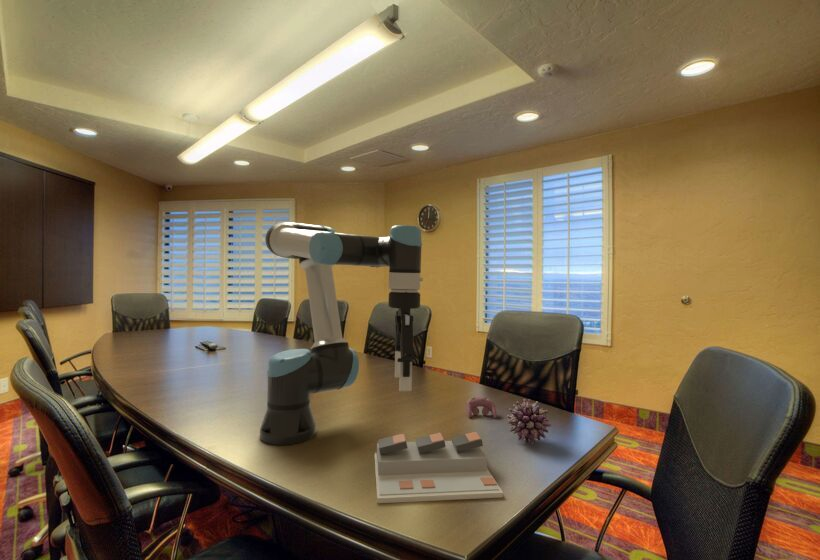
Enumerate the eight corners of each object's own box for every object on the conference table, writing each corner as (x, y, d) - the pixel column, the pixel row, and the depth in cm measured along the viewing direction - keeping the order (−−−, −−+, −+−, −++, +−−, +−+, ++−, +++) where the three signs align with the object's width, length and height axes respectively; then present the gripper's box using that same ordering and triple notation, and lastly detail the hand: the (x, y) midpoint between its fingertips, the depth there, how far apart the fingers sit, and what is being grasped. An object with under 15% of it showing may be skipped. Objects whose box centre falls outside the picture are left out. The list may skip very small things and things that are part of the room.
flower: (546, 455, 100) (547, 409, 100) (501, 444, 106) (502, 401, 106) (554, 439, 110) (554, 397, 110) (511, 430, 116) (512, 391, 116)
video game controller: (494, 419, 129) (492, 398, 132) (498, 418, 125) (496, 395, 128) (465, 419, 129) (464, 397, 132) (468, 417, 125) (466, 395, 128)
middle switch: (419, 453, 90) (417, 446, 90) (416, 444, 94) (415, 438, 94) (445, 447, 90) (444, 440, 90) (441, 438, 95) (440, 431, 95)
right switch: (457, 452, 91) (455, 445, 91) (452, 443, 96) (451, 437, 96) (482, 446, 92) (481, 438, 92) (477, 437, 96) (475, 430, 96)
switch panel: (377, 503, 77) (377, 483, 77) (374, 457, 97) (374, 441, 97) (502, 497, 80) (503, 478, 80) (475, 453, 100) (475, 438, 100)
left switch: (380, 455, 89) (378, 447, 89) (379, 445, 93) (378, 439, 93) (407, 448, 89) (406, 441, 89) (405, 439, 94) (404, 432, 94)
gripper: (428, 293, 80) (426, 398, 81) (413, 290, 104) (411, 371, 104) (392, 292, 80) (390, 399, 80) (385, 289, 103) (384, 371, 103)
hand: (402, 383), depth 92 cm, fingers open, 11 cm apart
